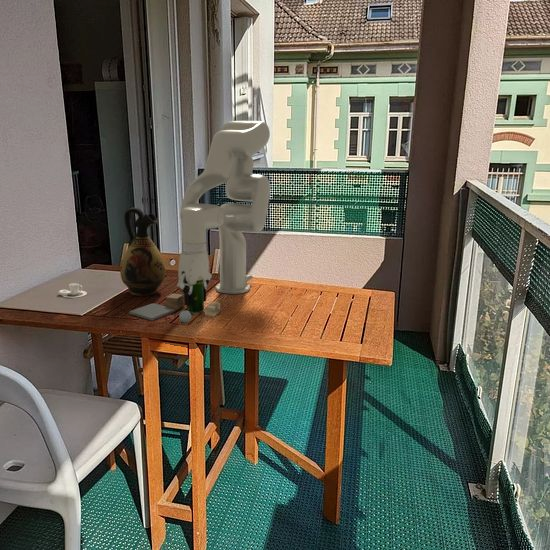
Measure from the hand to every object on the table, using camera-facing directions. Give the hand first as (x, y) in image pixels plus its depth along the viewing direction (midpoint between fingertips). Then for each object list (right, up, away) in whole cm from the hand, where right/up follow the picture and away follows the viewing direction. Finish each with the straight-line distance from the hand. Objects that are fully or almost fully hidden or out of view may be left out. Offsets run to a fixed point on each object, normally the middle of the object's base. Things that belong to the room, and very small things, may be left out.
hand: (195, 302), depth 156 cm
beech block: (+6, -4, 0) cm, 7 cm away
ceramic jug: (-22, +3, +19) cm, 29 cm away
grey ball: (-2, -4, -9) cm, 10 cm away
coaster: (-13, -3, -1) cm, 14 cm away
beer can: (0, -3, +1) cm, 3 cm away
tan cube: (-7, -2, +4) cm, 9 cm away
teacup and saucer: (-46, +2, +17) cm, 50 cm away
